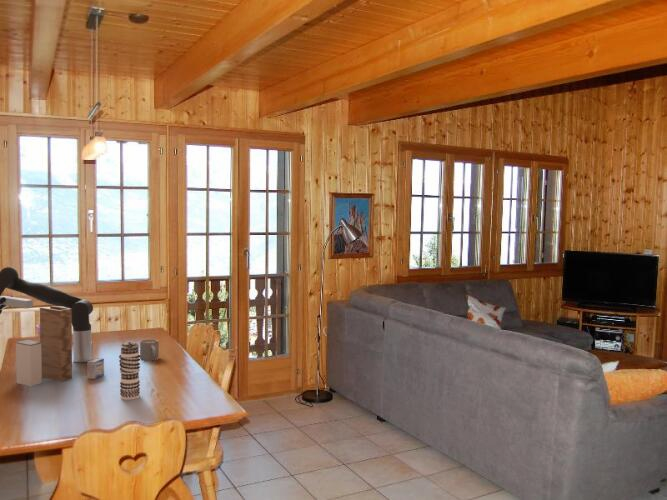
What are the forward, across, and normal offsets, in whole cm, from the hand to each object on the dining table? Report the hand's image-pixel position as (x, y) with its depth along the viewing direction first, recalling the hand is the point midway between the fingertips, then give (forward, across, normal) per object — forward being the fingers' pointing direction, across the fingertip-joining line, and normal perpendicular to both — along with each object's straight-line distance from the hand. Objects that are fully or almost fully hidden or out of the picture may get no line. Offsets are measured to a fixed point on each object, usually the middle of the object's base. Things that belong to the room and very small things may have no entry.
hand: (8, 298), depth 294 cm
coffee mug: (+7, +62, +50) cm, 81 cm away
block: (-8, 0, +42) cm, 42 cm away
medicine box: (+8, +24, +51) cm, 57 cm away
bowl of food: (-58, +60, +13) cm, 85 cm away
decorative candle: (+40, +10, +69) cm, 81 cm away
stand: (-5, +12, +43) cm, 45 cm away
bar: (+2, 0, +5) cm, 5 cm away
